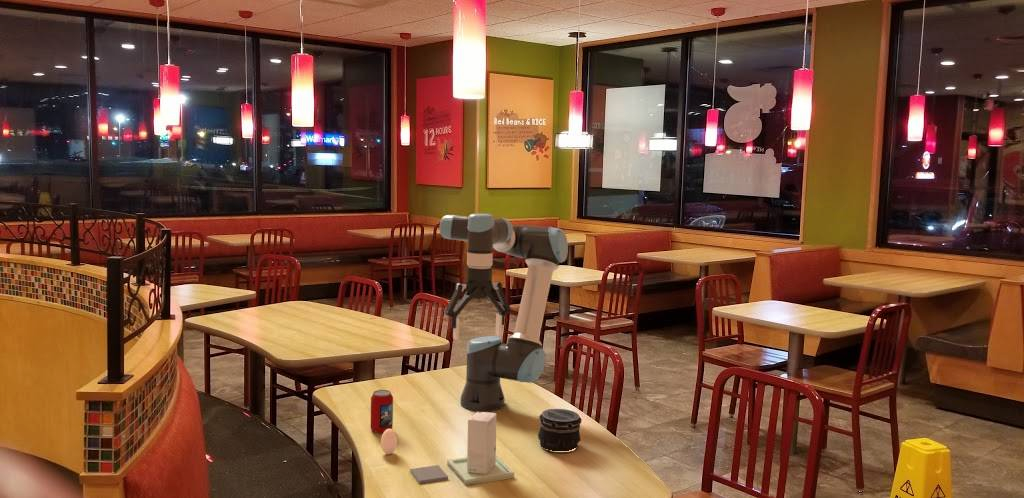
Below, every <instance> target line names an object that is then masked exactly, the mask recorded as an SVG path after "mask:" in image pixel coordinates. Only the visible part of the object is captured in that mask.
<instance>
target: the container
mask: <svg viewBox="0 0 1024 498" xmlns="http://www.w3.org/2000/svg"><path fill="white" fill-rule="evenodd" d="M538 420H539V431H538V434H537V437H538V440H539V446H540V445H541V446H540V448H541V447H543V448H545V449H548V450H552V451H569V450H572V449H574V448H576V447H577V448H578V444H579V443H580V441H581V432H580V429H581V423H582V418H581V416H580V414H579V413H577V412H576V411H573V410H570V409H565V408H549V409H548V408H547V409H545V410H543V411H542V412H541V414H539V417H538Z"/></svg>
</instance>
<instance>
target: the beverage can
mask: <svg viewBox="0 0 1024 498" xmlns="http://www.w3.org/2000/svg"><path fill="white" fill-rule="evenodd" d="M393 418H394V397H393V395H392V392H391V391H390V390H388V389H379V390H378V389H377V390H374V391H373V394H372V395H371V397H370V429H371V430H372V431H373V432H375V433H378V434H383V433H384V432H385V430H387V429H392V430H393V427H394V426H393V424H394V423H393V422H394V419H393Z"/></svg>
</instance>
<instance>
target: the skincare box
mask: <svg viewBox="0 0 1024 498" xmlns="http://www.w3.org/2000/svg"><path fill="white" fill-rule="evenodd" d="M496 451H497V413H495V412H488V411H477V412H476V413H475V414H473V415H472V416H471V417H469V419H468V420H467V451H466V452H467V455H466V457H467V472H471V473H477V474H482V475H487V474H488V472H489V471H490V470H491V469H492V468H493V466H495V464H496V456H497V452H496Z"/></svg>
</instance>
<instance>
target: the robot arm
mask: <svg viewBox="0 0 1024 498" xmlns="http://www.w3.org/2000/svg"><path fill="white" fill-rule="evenodd" d="M439 233H440V235H441V237H442V238H443V239H446V240H447V239H448V240H456V241H462V242H467V250H466V251H467V252H466V253H467V254H466V265H467V267H466V278H465V279H466V281H465V282H466V283H464V284H463V283H459V282H457V283H456V284H455V288H454V289H455V290H454V292H453V294H452V296H451V297H450V300H449V302H448V304H447V306H446V308H445V309H444V313H443V314H445V315H446V316H447V317H450V328H451V329H452V338H453V339H454V340H455V341H458V340H459V339H460V334H459V333H460V318H459V314H460V313H461V312H462V311H463V309H464V308H465V307H466V306H467V304H468V303H469V302H470V301H472V299H475V300H476V299H479V298H480V299H485V298H486V299H487V300H488V301H489V302H490V303H491V305H493V307H494V309H495V310H496V311H497V312H498V313H495V335H493V336H491V335H490V336H489V335H488V336H481V337H476V338H473V339H470V340H469V341H468V343H467V348H466V349H467V350H466V374H465V375H466V377H465V379H466V380H465V384H464V387H463V390H462V392H461V395H460V405H461V406H462V407H463V408H466V409H468V410H471V411H477V412H488V411H496V410H500V409H502V408H503V407H504V406H505V399H506V398H505V395H504V392H503V389H502V388H503V387H502V384H501V379H505V380H510V381H516V382H519V383H527V384H529V383H530V384H532V383H534V382H536V381H538V379H539V378H540V377H541V375H542V373H543V372H544V368H545V365H546V352H545V350H544V349H542V348H543V344H542V342H541V341H540V335H541V330H542V325H543V321H544V315H545V311H546V307H547V302H548V296H549V292H550V288H551V283H552V277H553V273H554V272H555V271H556V270H558V269H559V267H560V263H561V264H562V263H564V262H565V261H566V260H567V258H568V253H569V252H568V251H569V244H568V243H569V242H568V238H567V234H566V233H565V231H564V230H563V229H561V228H558V227H552V226H540V225H539V226H537V225H526V224H525V225H524V224H518V225H517V224H512V223H511V221H510V220H509V219H507V218H505V217H496V218H494V215H493V214H490V213H472V214H470V215H467V216H465V215H455V214H446V215H444V216H443V217H442V218H441V219H440V222H439ZM494 250H495V251H496V252H499V253H503V254H507V255H510V256H513V257H516V258H520V259H525V260H524V261H525V263H526V265H527V273H526V277H525V281H524V286H523V291H522V296H521V300H520V305H519V310H518V313H517V319H516V323H515V327H514V331H513V334H512V335H510V336H508V339H507V342H506V343H503V339H502V338H501V337H502V327H503V326H504V325H505V316H507V314H509V313H511V311H512V309H511V307H510V304H509V303H508V299H507V298H506V295H505V293H504V291H503V284H502V283H501V282H499V281H495V282H493V281H492V280H493V268H492V266H493V265H494V263H493V258H494V255H493V254H494ZM492 289H494V290H495V291H496V294H497V297H498V299H499V302H500V303H501V305H500V303H499V302H498V300H496V298H495V297H494V295H493V294H492V293H491V290H492ZM464 290H465V291H466V292H465V293H464V295H463V297H462V298H461V300H460V301H459V299H460V297H461V295H462V293H463V292H464ZM458 301H459V302H458ZM501 407H502V408H501Z"/></svg>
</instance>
